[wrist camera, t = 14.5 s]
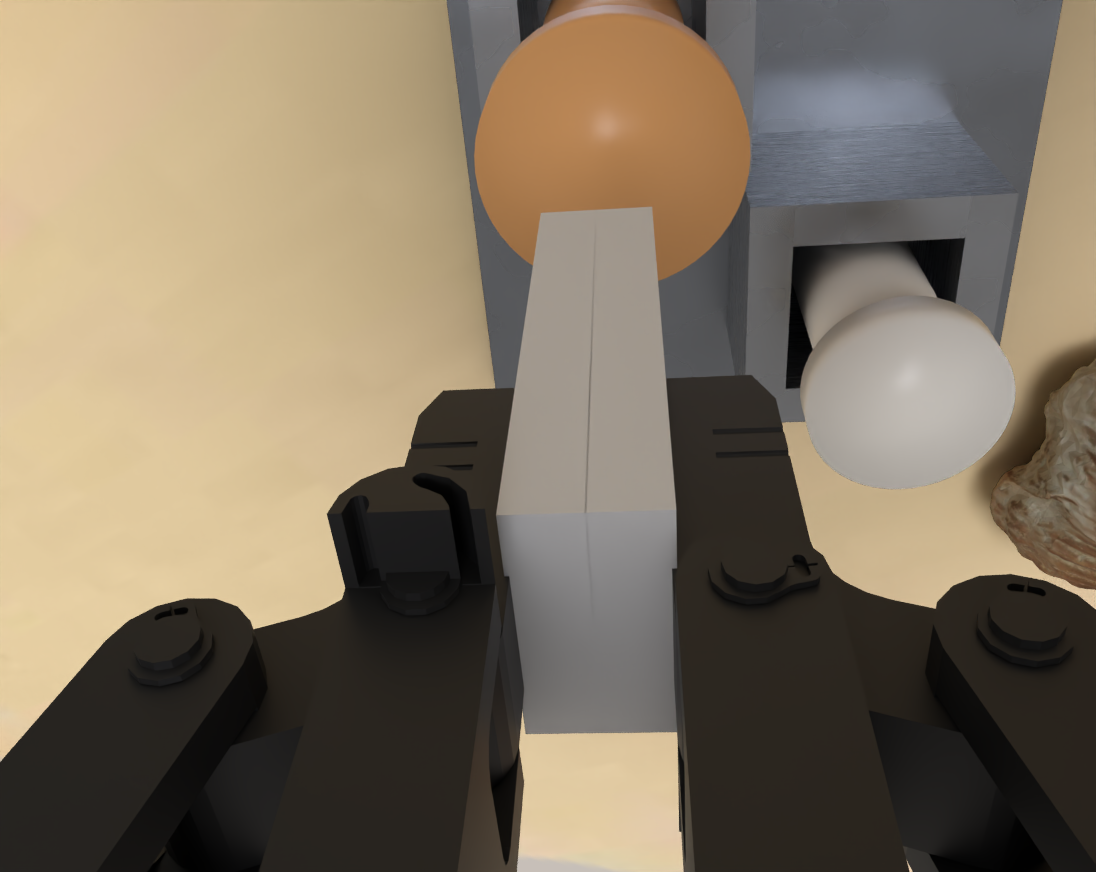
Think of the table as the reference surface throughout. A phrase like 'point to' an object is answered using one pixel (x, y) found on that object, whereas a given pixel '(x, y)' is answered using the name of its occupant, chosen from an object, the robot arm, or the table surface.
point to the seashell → (1057, 488)
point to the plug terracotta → (614, 128)
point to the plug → (894, 368)
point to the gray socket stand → (817, 163)
